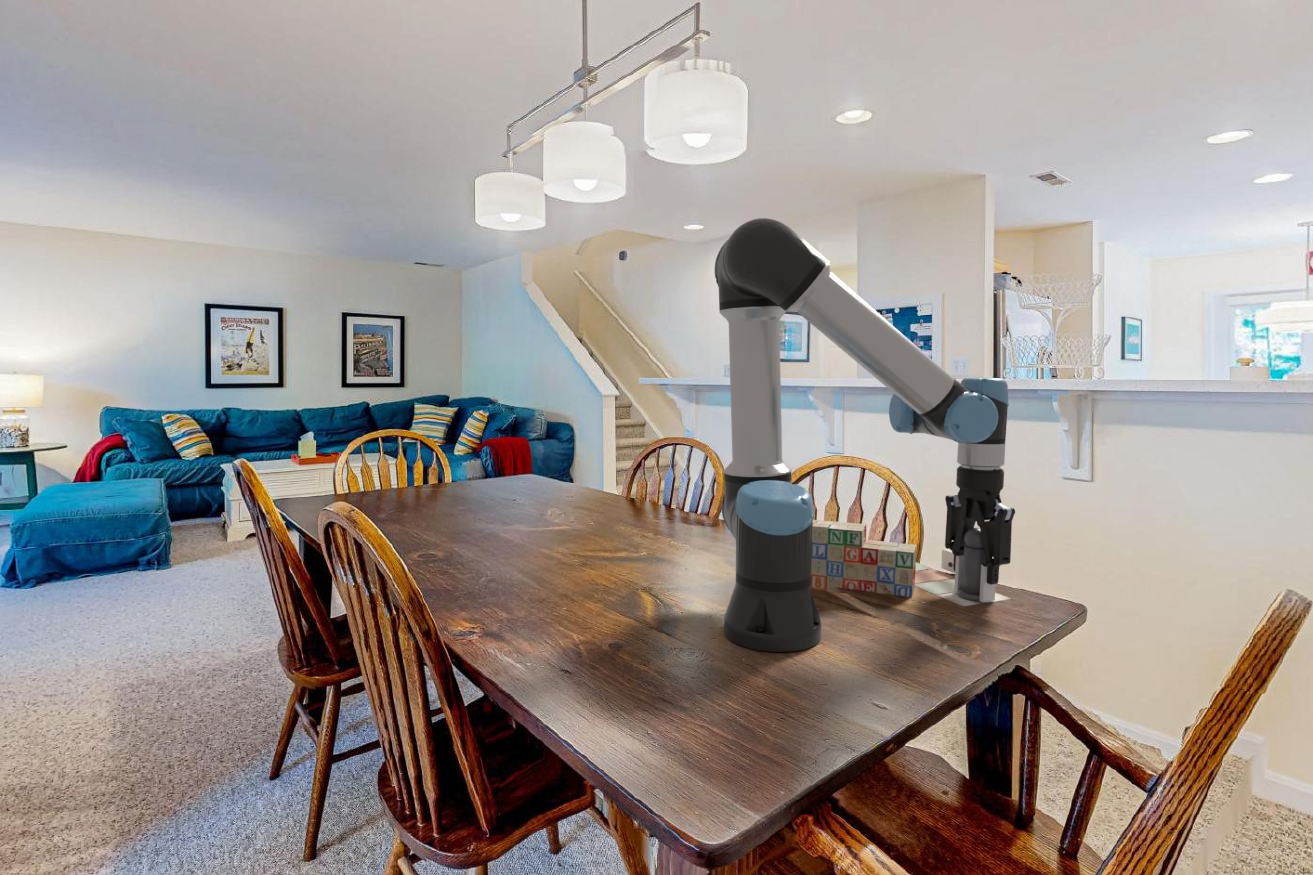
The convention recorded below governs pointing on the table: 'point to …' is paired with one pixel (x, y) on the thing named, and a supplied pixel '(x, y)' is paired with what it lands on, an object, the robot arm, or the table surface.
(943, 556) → the die
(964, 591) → the pawn
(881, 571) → the stack of blocks
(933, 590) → the board
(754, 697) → the table surface
